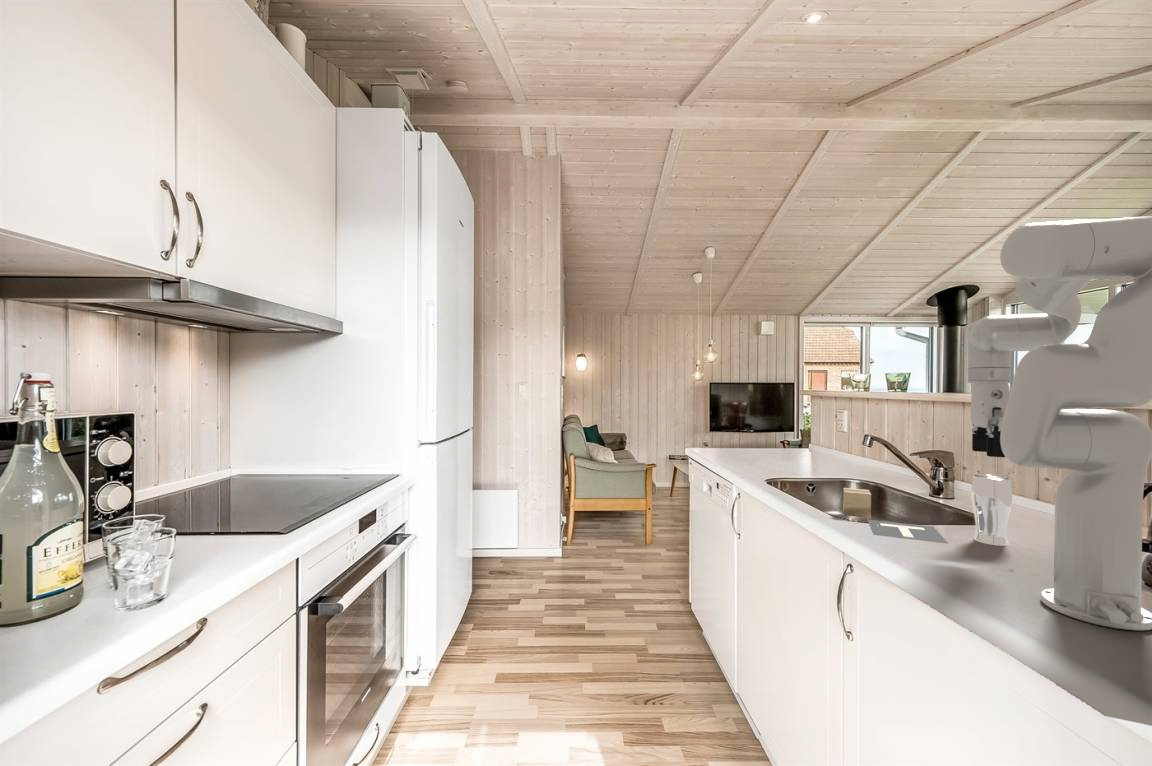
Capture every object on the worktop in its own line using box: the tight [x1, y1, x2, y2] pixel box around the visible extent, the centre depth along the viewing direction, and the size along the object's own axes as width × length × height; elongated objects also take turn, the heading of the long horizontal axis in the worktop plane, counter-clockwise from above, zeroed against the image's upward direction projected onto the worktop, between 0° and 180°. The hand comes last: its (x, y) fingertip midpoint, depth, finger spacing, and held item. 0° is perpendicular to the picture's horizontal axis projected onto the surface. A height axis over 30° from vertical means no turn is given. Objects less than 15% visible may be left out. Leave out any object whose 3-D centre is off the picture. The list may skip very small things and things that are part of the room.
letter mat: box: [867, 519, 949, 544], centre depth 119 cm, size 14×14×1 cm
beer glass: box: [970, 473, 1013, 547], centre depth 112 cm, size 7×7×15 cm
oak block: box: [842, 487, 872, 519], centre depth 134 cm, size 6×6×7 cm
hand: (988, 454), depth 112 cm, fingers open, 9 cm apart
